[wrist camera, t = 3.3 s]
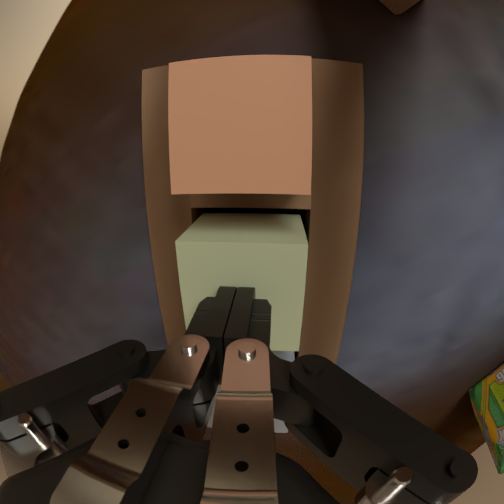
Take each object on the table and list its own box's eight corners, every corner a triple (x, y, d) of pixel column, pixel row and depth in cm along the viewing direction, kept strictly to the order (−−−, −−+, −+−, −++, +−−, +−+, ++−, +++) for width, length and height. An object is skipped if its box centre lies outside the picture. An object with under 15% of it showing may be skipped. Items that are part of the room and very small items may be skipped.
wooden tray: (349, 75, 15) (362, 63, 12) (323, 373, 23) (327, 398, 20) (161, 78, 16) (142, 69, 13) (187, 366, 24) (178, 389, 21)
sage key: (299, 214, 16) (308, 244, 12) (295, 300, 18) (298, 351, 14) (203, 213, 17) (175, 241, 12) (209, 296, 19) (188, 344, 14)
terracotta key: (301, 82, 13) (311, 56, 9) (301, 179, 15) (311, 194, 11) (200, 84, 14) (168, 63, 9) (202, 178, 16) (171, 194, 11)
